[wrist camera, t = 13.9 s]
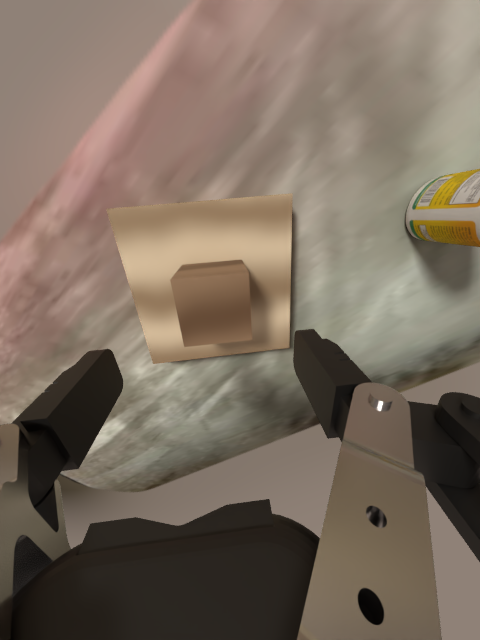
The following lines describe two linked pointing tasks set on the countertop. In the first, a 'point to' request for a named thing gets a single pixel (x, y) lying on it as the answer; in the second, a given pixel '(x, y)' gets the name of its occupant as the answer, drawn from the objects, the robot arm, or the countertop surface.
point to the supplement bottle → (447, 210)
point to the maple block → (201, 247)
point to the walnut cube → (213, 302)
